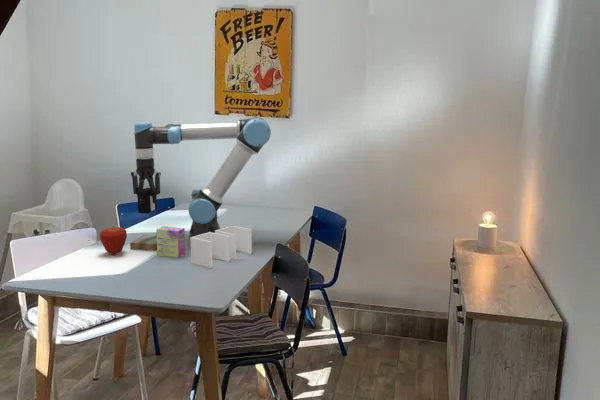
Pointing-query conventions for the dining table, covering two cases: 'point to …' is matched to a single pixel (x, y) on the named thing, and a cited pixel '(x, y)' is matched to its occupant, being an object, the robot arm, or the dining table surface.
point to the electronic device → (145, 201)
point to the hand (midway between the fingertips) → (147, 209)
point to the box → (171, 242)
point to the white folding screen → (220, 245)
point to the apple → (113, 239)
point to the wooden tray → (145, 243)
